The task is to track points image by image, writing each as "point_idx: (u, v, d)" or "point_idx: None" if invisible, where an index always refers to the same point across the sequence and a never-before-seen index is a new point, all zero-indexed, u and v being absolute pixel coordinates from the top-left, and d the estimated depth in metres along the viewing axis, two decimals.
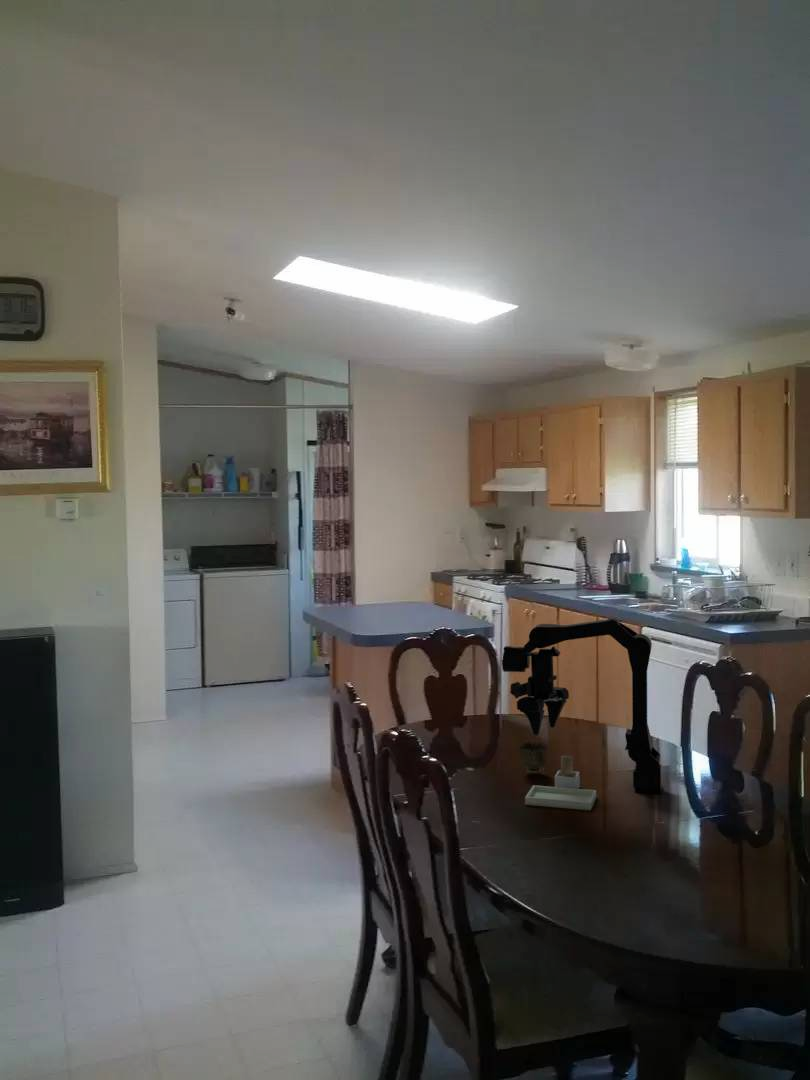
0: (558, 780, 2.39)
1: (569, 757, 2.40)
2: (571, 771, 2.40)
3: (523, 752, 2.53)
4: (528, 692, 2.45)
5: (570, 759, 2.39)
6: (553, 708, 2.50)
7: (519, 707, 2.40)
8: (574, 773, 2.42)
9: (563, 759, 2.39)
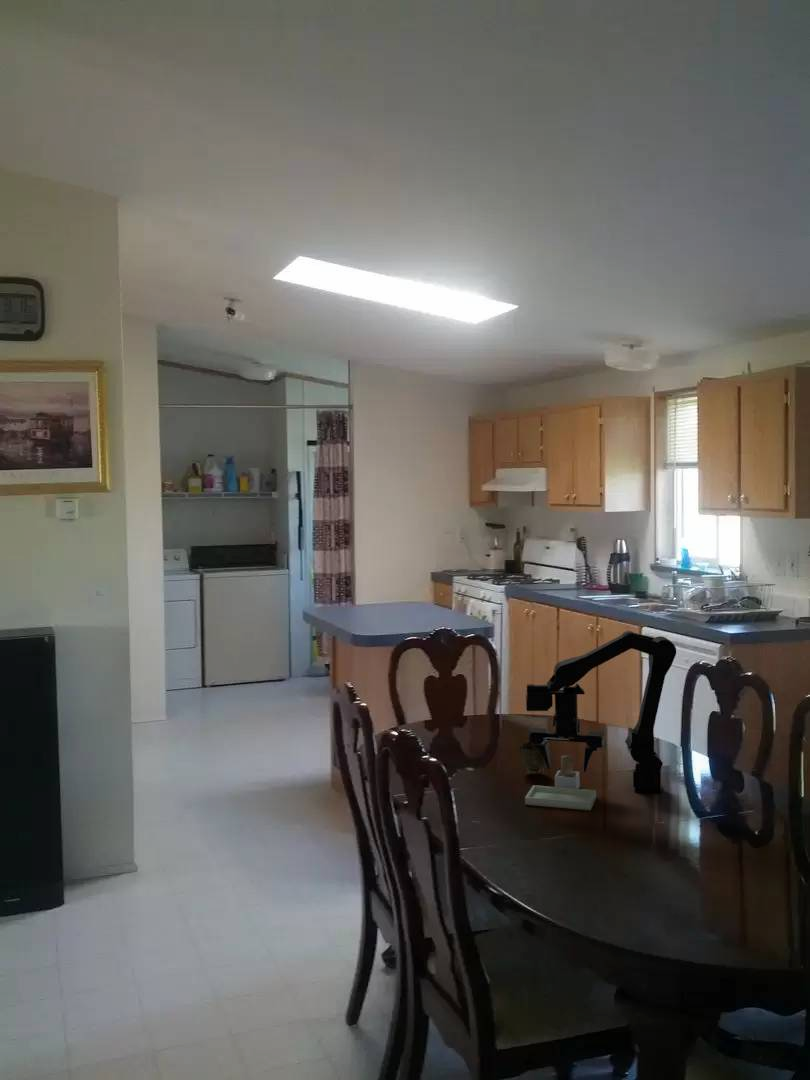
0: (558, 780, 2.39)
1: (569, 757, 2.40)
2: (571, 771, 2.40)
3: (523, 752, 2.53)
4: None
5: (570, 759, 2.39)
6: None
7: None
8: (574, 773, 2.42)
9: (563, 759, 2.39)
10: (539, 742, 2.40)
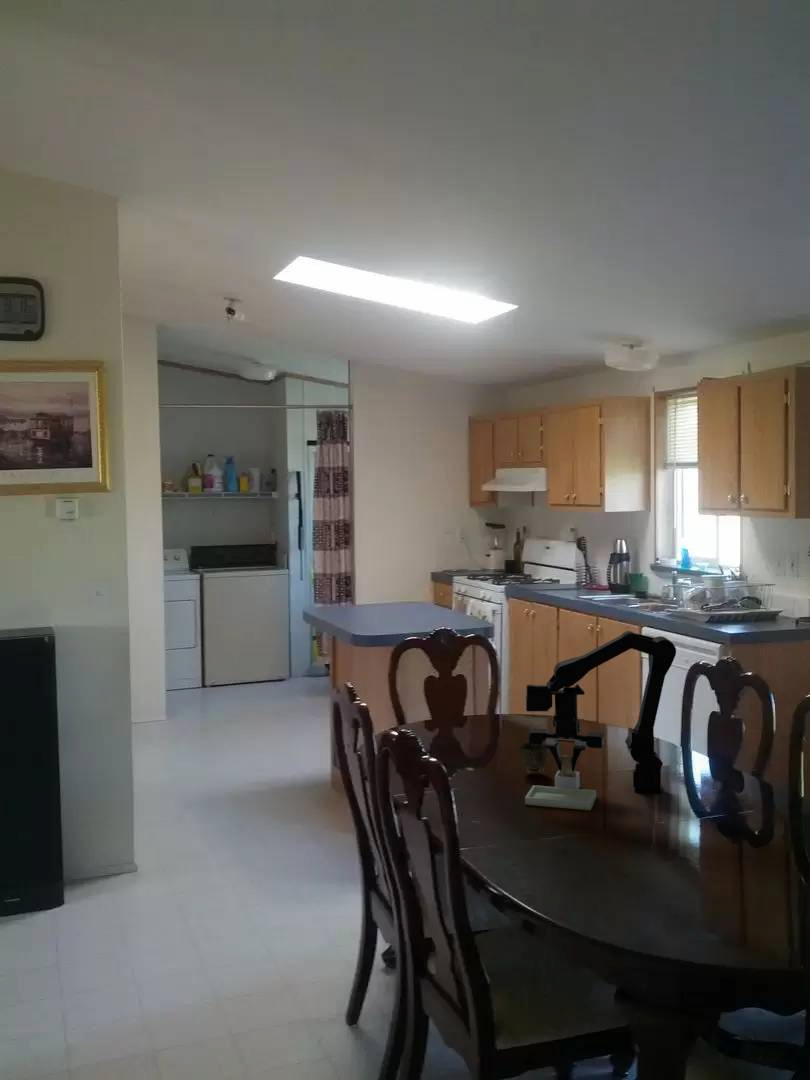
0: (558, 780, 2.39)
1: (569, 757, 2.40)
2: (571, 771, 2.40)
3: (523, 752, 2.53)
4: None
5: (570, 759, 2.39)
6: None
7: None
8: (574, 773, 2.42)
9: (563, 759, 2.39)
10: (539, 742, 2.40)
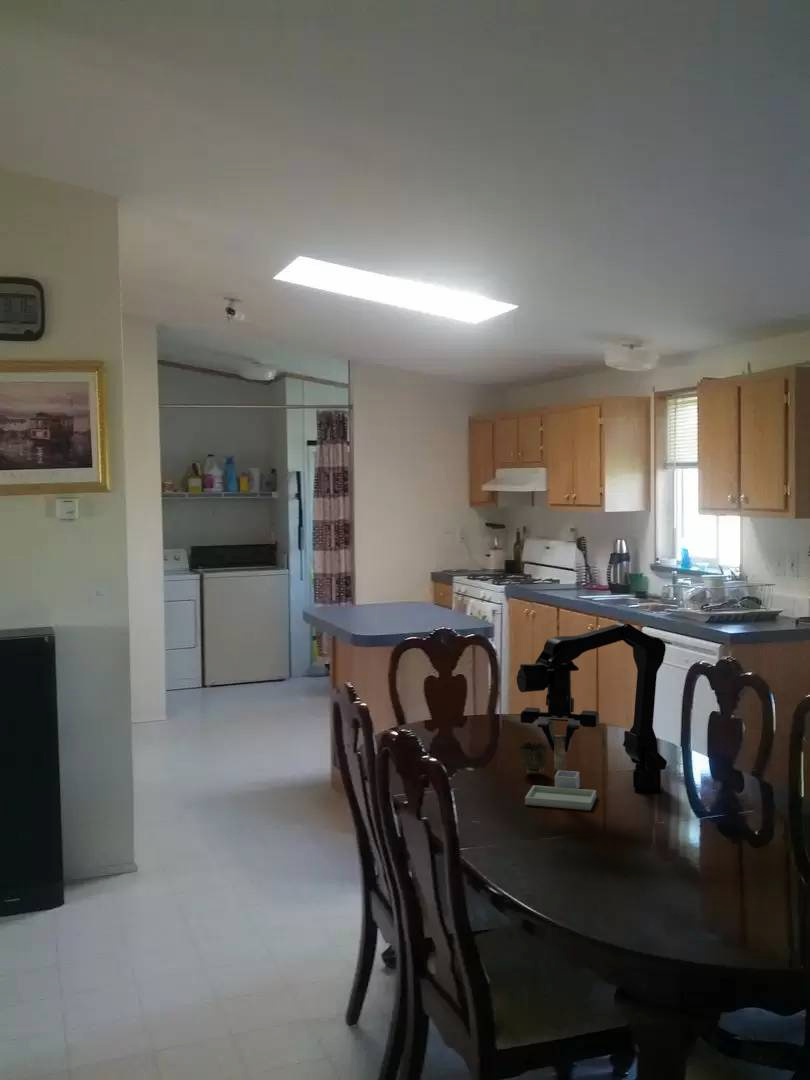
0: (558, 780, 2.39)
1: (562, 737, 2.31)
2: (564, 751, 2.30)
3: (523, 752, 2.53)
4: None
5: (563, 739, 2.30)
6: None
7: None
8: (574, 773, 2.42)
9: (556, 739, 2.30)
10: (531, 721, 2.30)
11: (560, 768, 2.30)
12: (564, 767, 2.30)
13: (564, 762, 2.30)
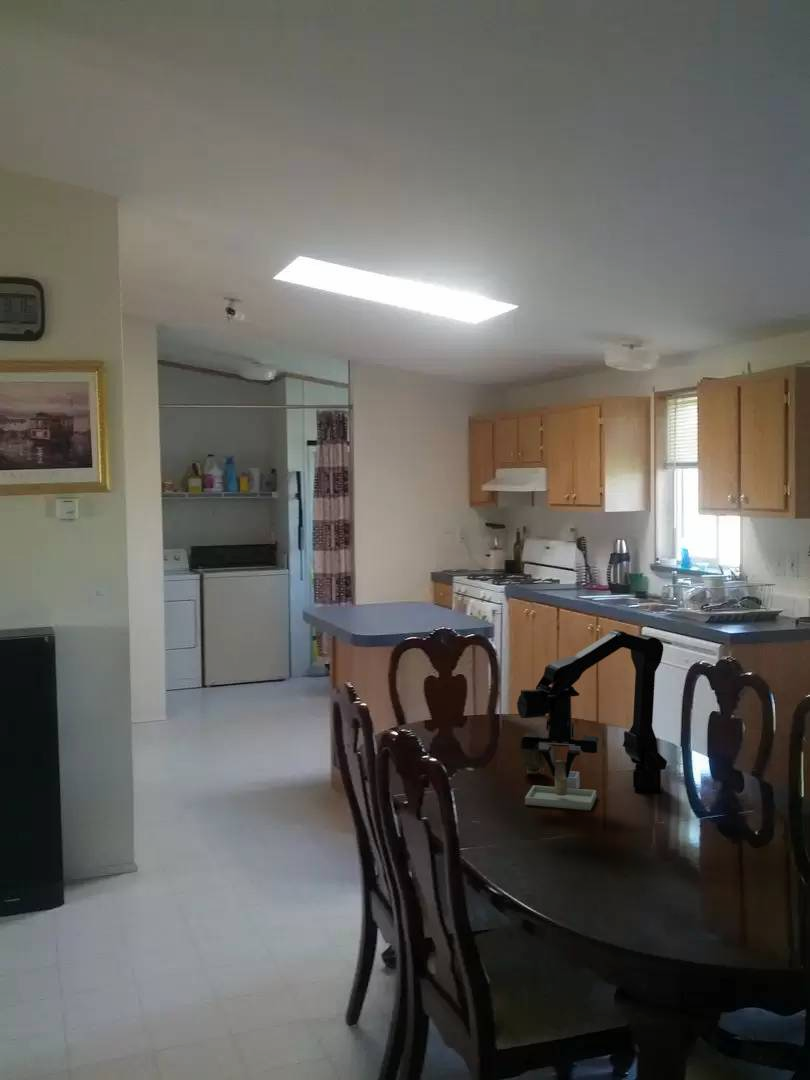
0: None
1: (563, 762, 2.31)
2: (565, 777, 2.31)
3: (523, 752, 2.53)
4: None
5: (564, 764, 2.30)
6: None
7: None
8: (574, 773, 2.42)
9: (557, 764, 2.30)
10: (532, 747, 2.31)
11: (561, 793, 2.30)
12: (565, 792, 2.31)
13: (565, 787, 2.31)
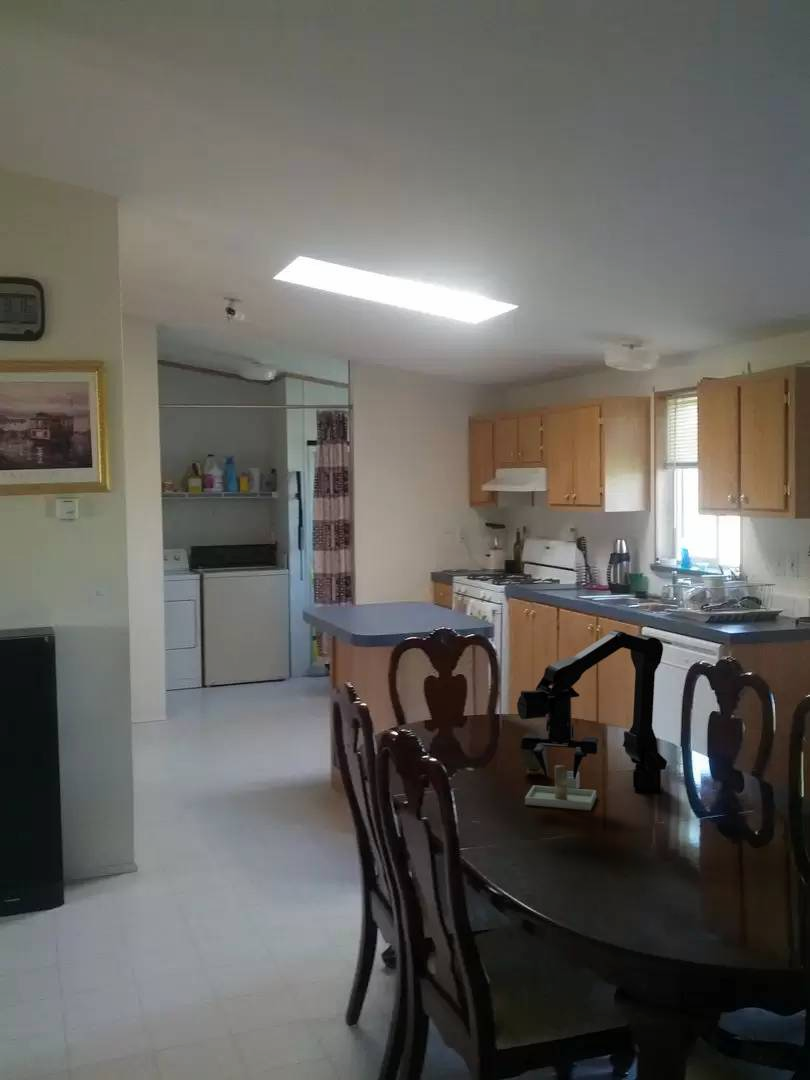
0: None
1: (563, 767, 2.31)
2: (565, 782, 2.30)
3: (523, 752, 2.53)
4: None
5: (564, 769, 2.30)
6: None
7: None
8: None
9: (557, 769, 2.30)
10: (531, 748, 2.31)
11: (561, 798, 2.30)
12: (565, 797, 2.31)
13: (565, 792, 2.31)
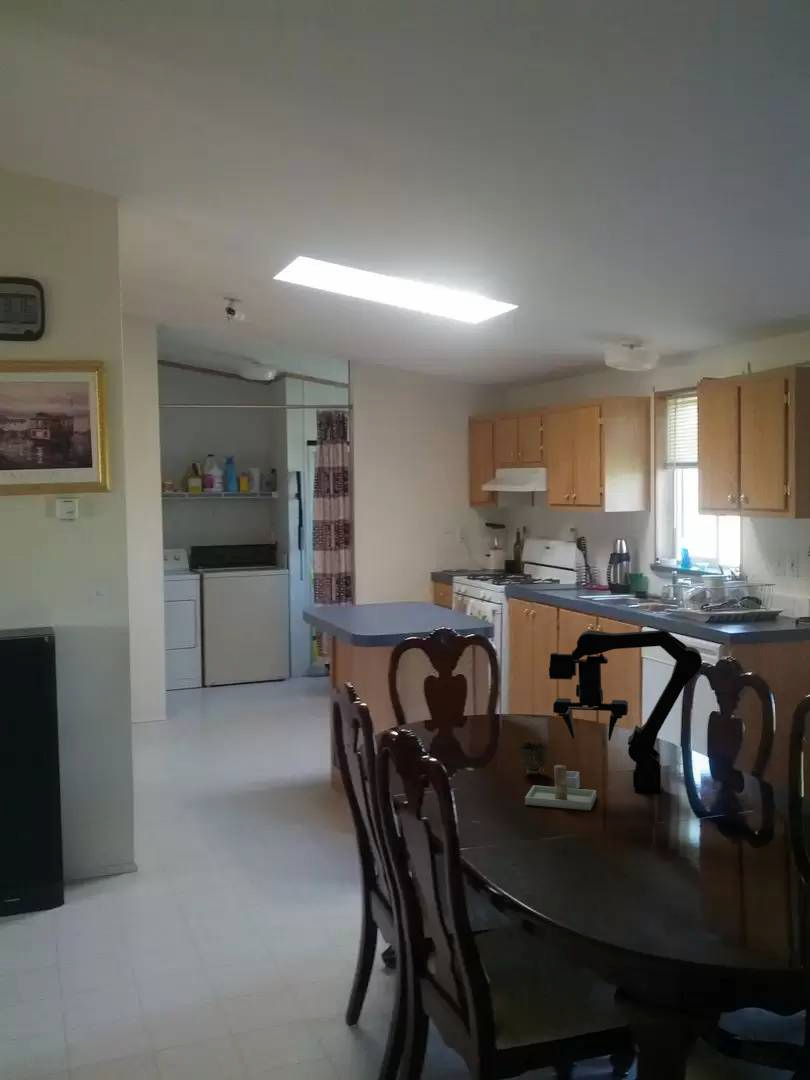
0: None
1: (562, 767, 2.31)
2: (565, 781, 2.31)
3: (523, 752, 2.53)
4: None
5: (563, 769, 2.30)
6: None
7: None
8: (574, 773, 2.42)
9: (556, 769, 2.31)
10: (564, 711, 2.41)
11: (561, 798, 2.30)
12: (565, 797, 2.31)
13: (565, 792, 2.31)
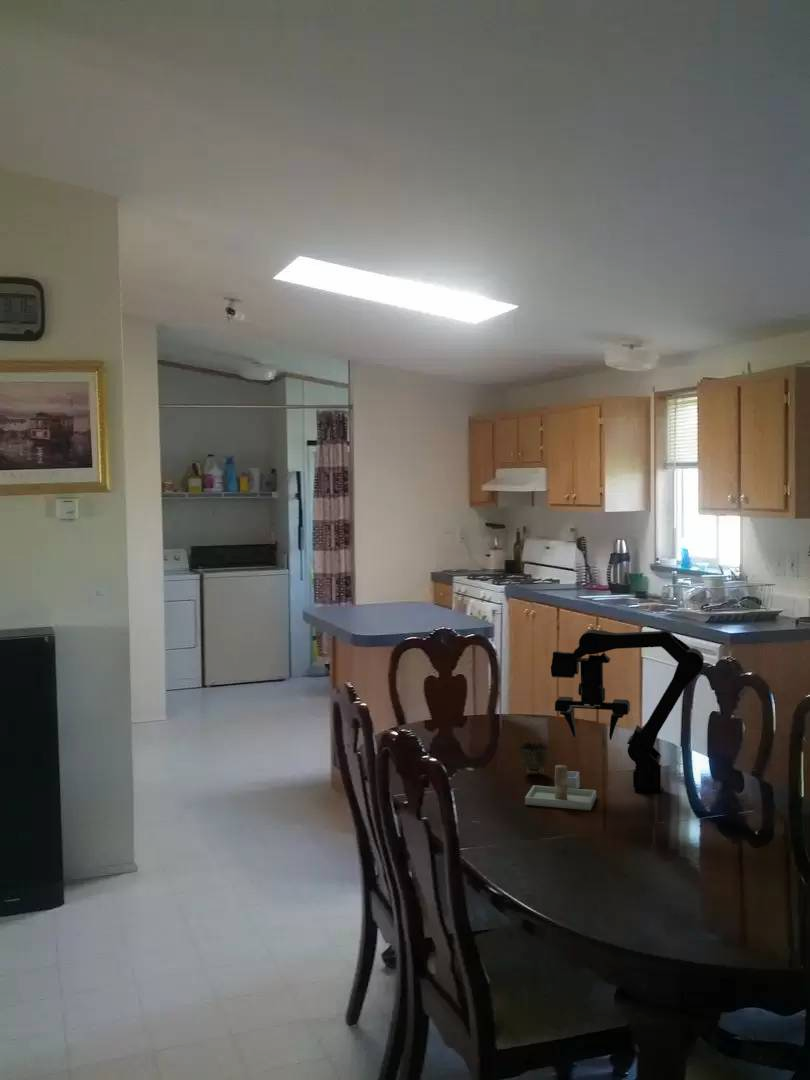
0: None
1: (563, 767, 2.31)
2: (565, 782, 2.31)
3: (523, 752, 2.53)
4: None
5: (564, 769, 2.30)
6: None
7: None
8: (574, 773, 2.42)
9: (557, 769, 2.30)
10: (565, 710, 2.42)
11: (561, 798, 2.30)
12: (565, 797, 2.31)
13: (565, 792, 2.31)
